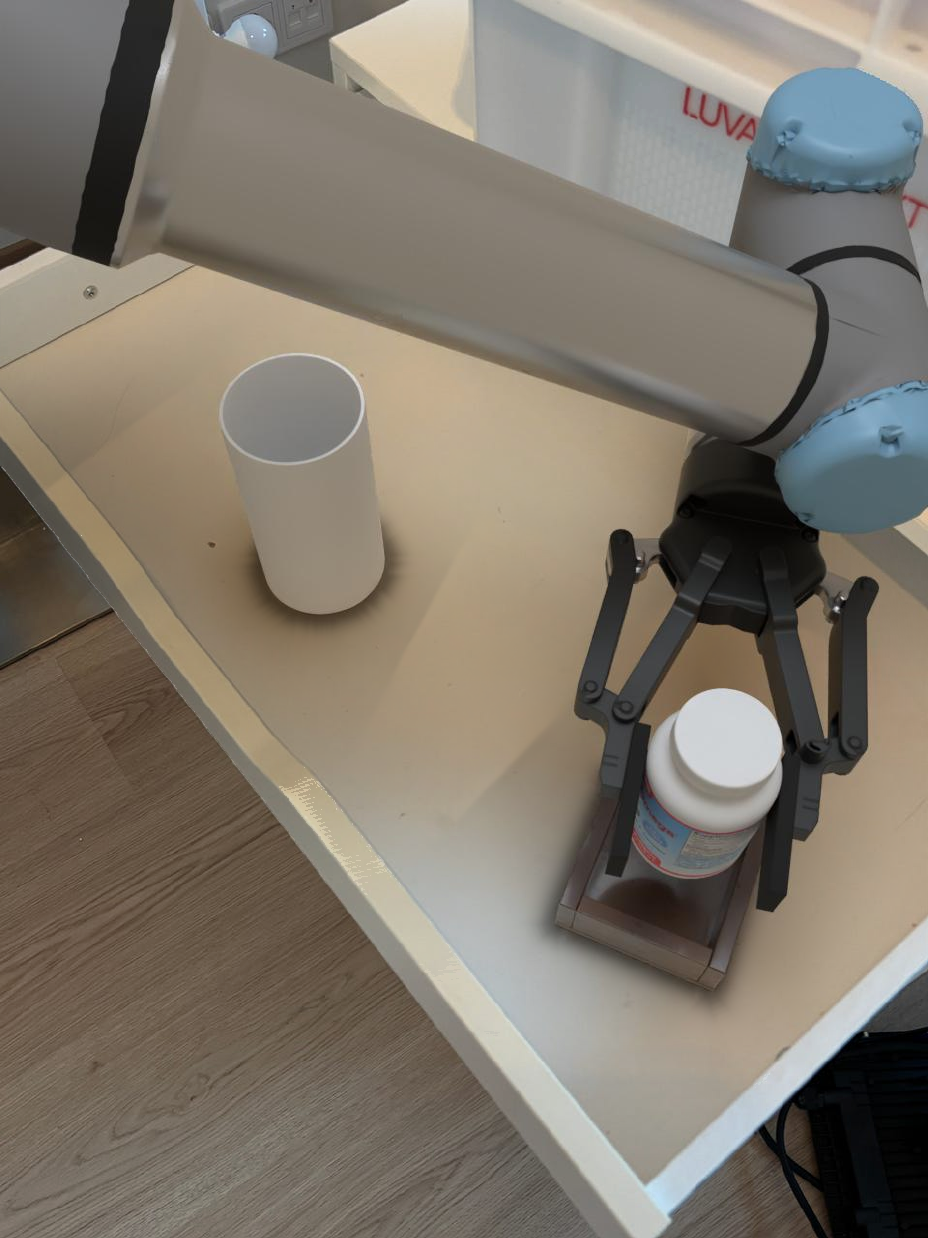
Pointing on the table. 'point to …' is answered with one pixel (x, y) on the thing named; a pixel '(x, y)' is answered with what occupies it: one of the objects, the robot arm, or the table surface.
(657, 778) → the pill bottle
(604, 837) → the brown square shallow tray
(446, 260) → the robot arm
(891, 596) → the table surface
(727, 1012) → the table surface
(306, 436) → the cup
